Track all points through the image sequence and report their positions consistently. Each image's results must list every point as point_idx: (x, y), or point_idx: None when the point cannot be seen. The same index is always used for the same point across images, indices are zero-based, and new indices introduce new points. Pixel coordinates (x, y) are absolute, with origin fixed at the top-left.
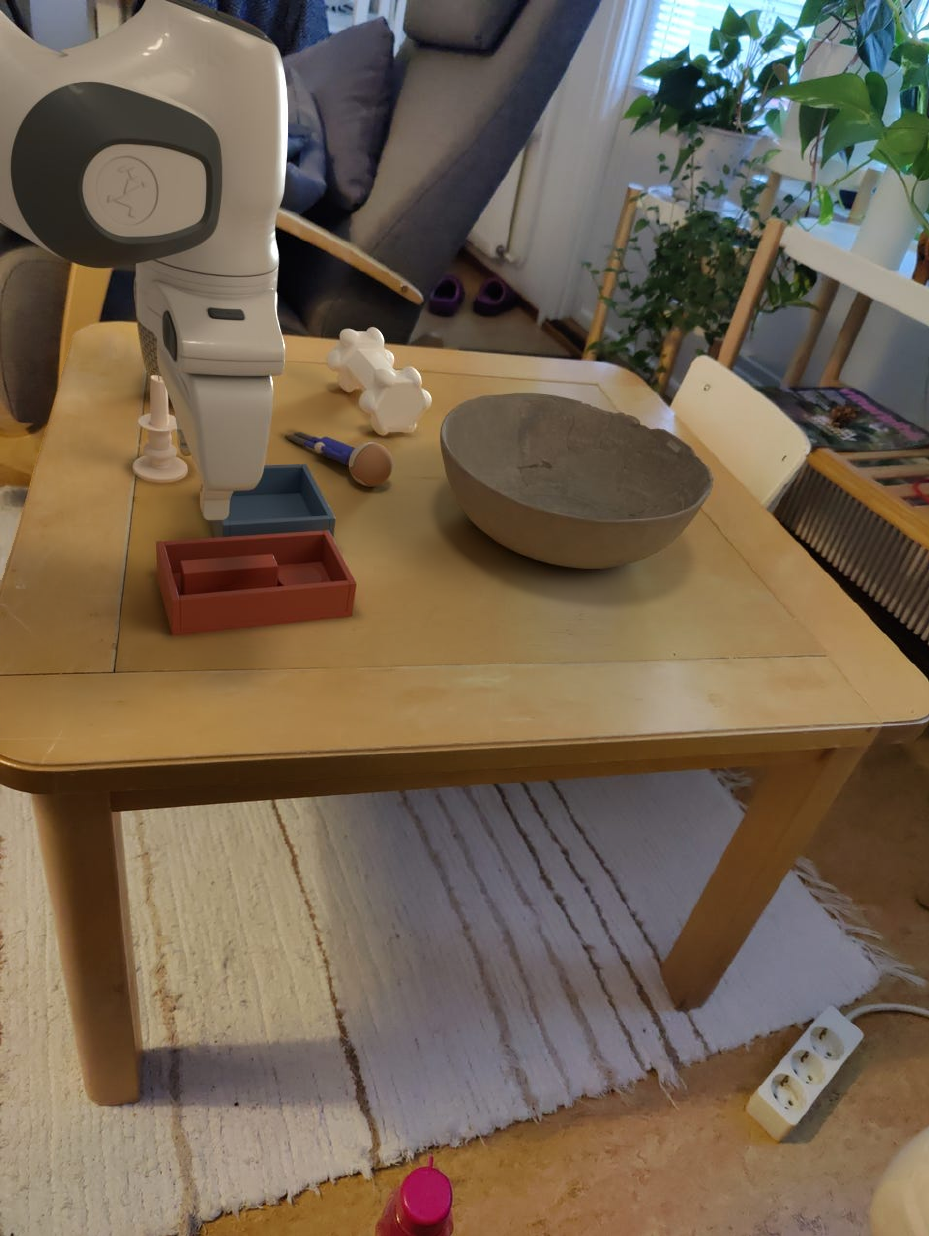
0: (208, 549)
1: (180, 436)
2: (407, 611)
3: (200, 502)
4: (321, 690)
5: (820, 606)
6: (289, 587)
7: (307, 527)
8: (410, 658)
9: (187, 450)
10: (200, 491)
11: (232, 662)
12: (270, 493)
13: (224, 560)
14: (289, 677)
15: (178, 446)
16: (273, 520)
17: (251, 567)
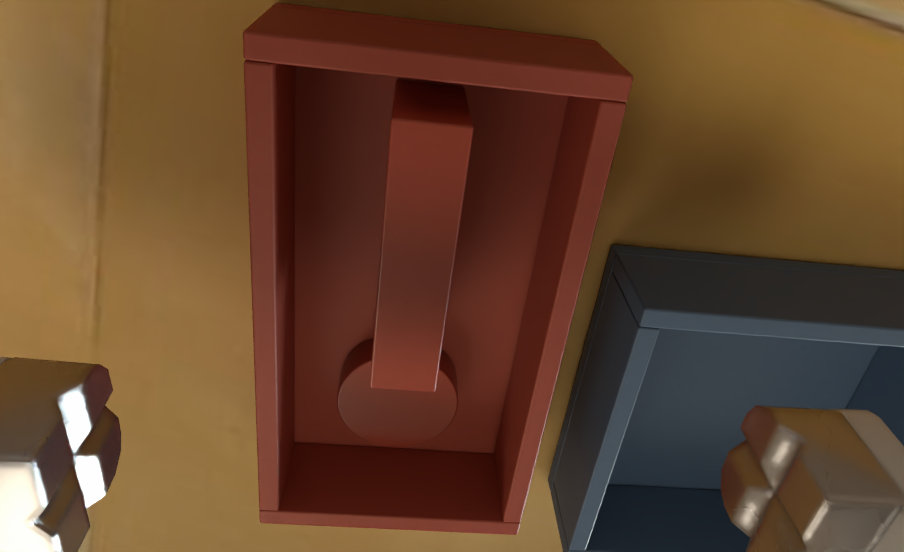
0: (562, 229)
1: (824, 495)
2: (281, 534)
3: (53, 390)
4: (7, 302)
5: None
6: (265, 384)
7: (576, 489)
8: (116, 491)
9: (756, 448)
10: (26, 449)
11: (135, 136)
12: None
13: (435, 261)
14: (61, 251)
15: (833, 415)
16: (613, 437)
17: (376, 323)
